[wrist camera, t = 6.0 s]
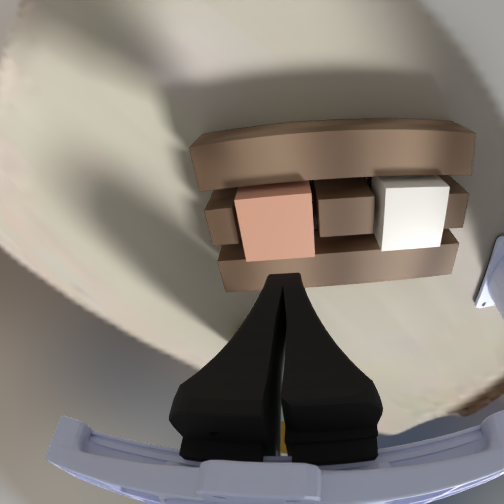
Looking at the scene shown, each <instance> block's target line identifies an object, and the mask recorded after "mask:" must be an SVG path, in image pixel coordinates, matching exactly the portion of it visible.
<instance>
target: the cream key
mask: <svg viewBox="0 0 504 504" xmlns="http://www.w3.org/2000/svg"><path fill="white" fill-rule="evenodd" d="M449 189H450V186H449V185H447V184H446V183H445V182H444V181H443V180H442V179H441V178H440V177H439V176H438V175H401V176H372V187H371V191H372V193H373V194H374V196H375V204H374V225H373V233H374V235H375V238H376V240H377V242H378V245H379V247H380V249H381V251H392V250H404V249H417V248H429V247H440V243H441V238H442V233H443V228H444V222H445V216H446V210H447V203H448V196H449Z"/></svg>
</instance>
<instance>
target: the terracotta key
mask: <svg viewBox="0 0 504 504" xmlns="http://www.w3.org/2000/svg"><path fill="white" fill-rule="evenodd" d="M234 202H235V207H236V212H237V217H238V222H239V227H240V232H241V237H242V242H243V247H244V252H245V257H246V262H250V261H265V260H279V259H293V258H307V257H315V246H314V227H313V210H312V195H311V189H310V184H309V180H305V181H293V182H282V183H271V184H261V185H251V186H242V187H238V190H237V193H236V196H235V199H234Z"/></svg>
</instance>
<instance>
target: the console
mask: <svg viewBox="0 0 504 504" xmlns="http://www.w3.org/2000/svg"><path fill="white" fill-rule="evenodd" d="M475 134H476V133H474V132H472V131H470V130H468V129H466V128H464V127H462V126H460V125H458V124H456V123H454V122H452V121H441V120H424V119H338V120H319V121H304V122H292V123H282V124H272V125H263V126H255V127H247V128H239V129H232V130H225V131H219V132H213V133H207V134H202V135H201V136H200V137H199V138H198V139H197V140H196V141H195V142H194V143H193V144H192V145H191V146H190V147H189V149H190V153H191V157H192V161H193V166H194V170H195V174H196V178H197V182H198V187H199V191H200V192H201V191H208V190H214V192H213V194H212V196H211V198H210V200H209V202H208V204H207V206H206V208H205V210H204V211H205V215H206V219H207V223H208V227H209V231H210V235H211V238H212V242H213V246H214V245H222V248H221V251H220V255H219V258H218V265H219V269H220V273H221V276H222V280H223V284H224V287H225V291H226V292H239V291H258V290H262V289H263V286H264V284H265V281H266V279H267V276H268V275H269V274H282V273H297V272H298V273H300V274H301V278H302V282H303V285H304V288H306V287H320V286H334V285H346V284H358V283H369V282H380V281H391V280H401V279H411V278H420V277H430V276H439V275H447V274H451V273H452V269H453V266H454V262H455V258H456V254H457V250H458V246H459V242H458V241H457V239H456V238H455V237H454V235H453V234H452V233H451V231H450V230H449V229H448V228H463V224H464V219H465V213H466V208H467V202H468V196H469V193H468V192H467V191H466V190H465V189H464V188H462V187H461V186H460V185H459V184H458V183H457V182H456V181H455V180H454V179H453V178H451V177H450V176H449V175H472V167H473V158H474V147H475ZM401 175H438V176H439V177H440V178H441V179H442V180H443V181H444V182H445V183H446V184H447V185H449V186H450V189H449V196H448V203H447V210H446V216H445V222H444V228H443V233H442V238H441V243H440V247H429V248H417V249H404V250H392V251H381V249H380V247H379V245H378V242H377V240H376V238H375V235H374V233H373V225H374V204H375V196H374V194H373V193H372V191H371V189H370V188H369V186H368V184H367V183H366V181H365V180H364V178H363V177H372V176H401ZM305 180H314V192H315V207H316V217H317V222H318V229H314V246H315V257H307V258H293V259H279V260H265V261H250V262H246V257H245V252H244V247H243V242H242V237H241V232H240V227H239V222H238V217H237V212H236V207H235V202H234V199H235V196H236V193H237V190H238V187H242V186H251V185H261V184H271V183H282V182H293V181H305Z"/></svg>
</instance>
